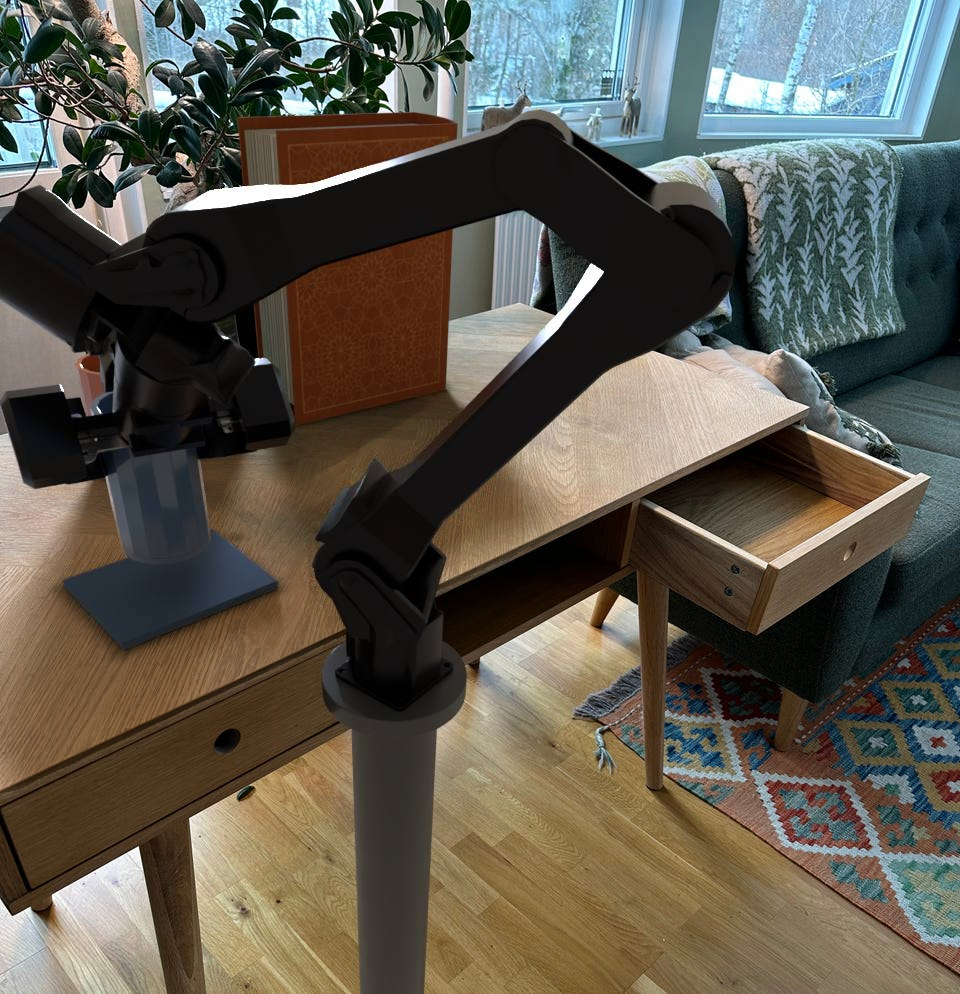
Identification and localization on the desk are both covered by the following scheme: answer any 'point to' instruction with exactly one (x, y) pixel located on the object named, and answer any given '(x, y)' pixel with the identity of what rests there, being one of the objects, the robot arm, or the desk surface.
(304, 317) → the book
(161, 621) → the blue mat
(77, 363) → the terracotta cup
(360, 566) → the robot arm
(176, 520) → the blue cup
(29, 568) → the desk surface
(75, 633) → the desk surface
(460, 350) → the desk surface
